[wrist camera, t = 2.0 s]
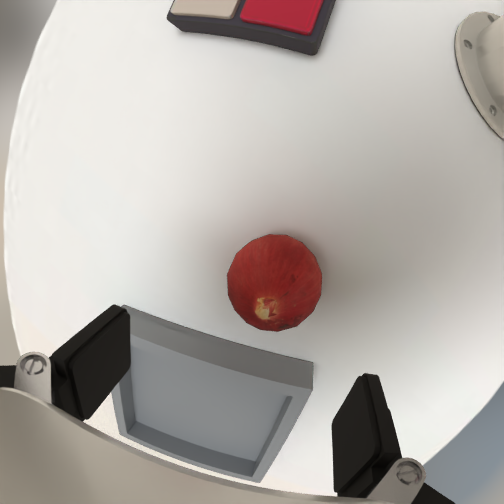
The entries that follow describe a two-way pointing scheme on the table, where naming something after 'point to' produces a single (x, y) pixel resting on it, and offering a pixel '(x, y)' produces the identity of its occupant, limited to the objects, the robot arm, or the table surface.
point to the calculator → (257, 20)
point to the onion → (274, 282)
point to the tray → (208, 398)
